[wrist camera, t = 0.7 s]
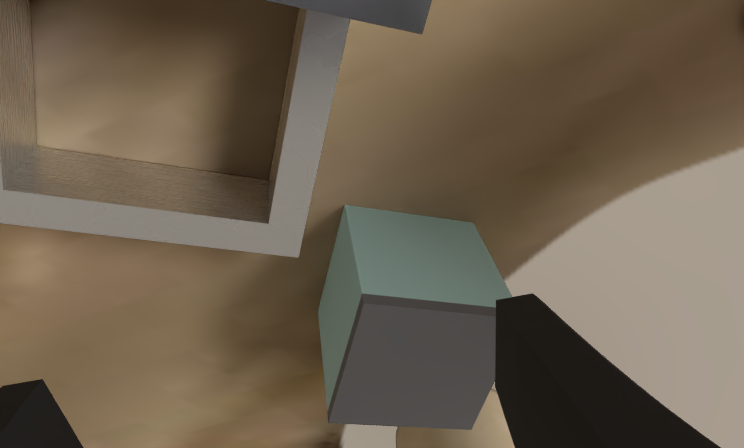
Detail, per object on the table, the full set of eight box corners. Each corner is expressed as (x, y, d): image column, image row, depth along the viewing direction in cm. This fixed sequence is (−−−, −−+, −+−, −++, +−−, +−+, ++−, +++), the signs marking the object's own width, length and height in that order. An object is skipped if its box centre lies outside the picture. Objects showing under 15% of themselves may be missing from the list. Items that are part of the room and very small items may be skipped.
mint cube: (472, 221, 20) (524, 319, 16) (434, 321, 23) (471, 429, 18) (344, 203, 19) (364, 303, 15) (317, 310, 22) (328, 422, 17)
